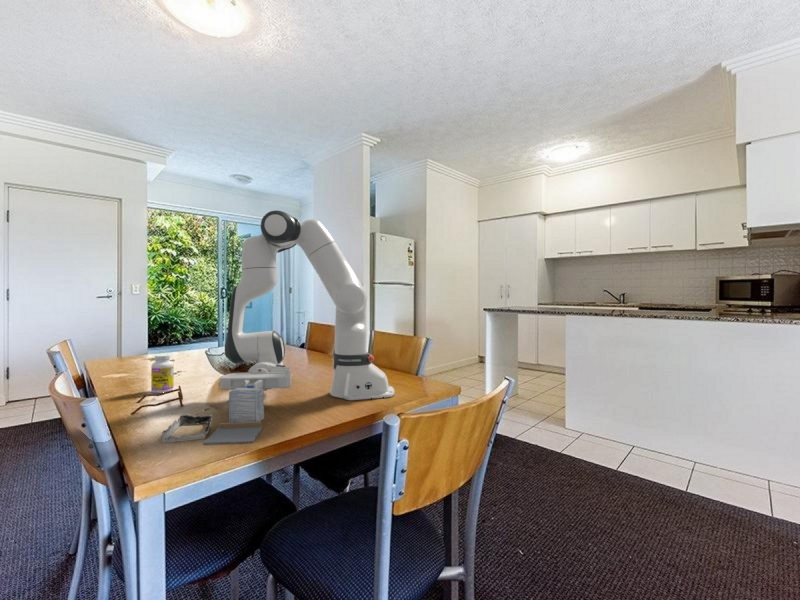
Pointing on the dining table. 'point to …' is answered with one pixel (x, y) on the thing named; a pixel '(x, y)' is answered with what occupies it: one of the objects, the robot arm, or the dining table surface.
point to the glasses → (164, 401)
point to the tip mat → (235, 433)
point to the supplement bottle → (162, 374)
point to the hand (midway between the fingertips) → (250, 387)
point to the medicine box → (246, 405)
